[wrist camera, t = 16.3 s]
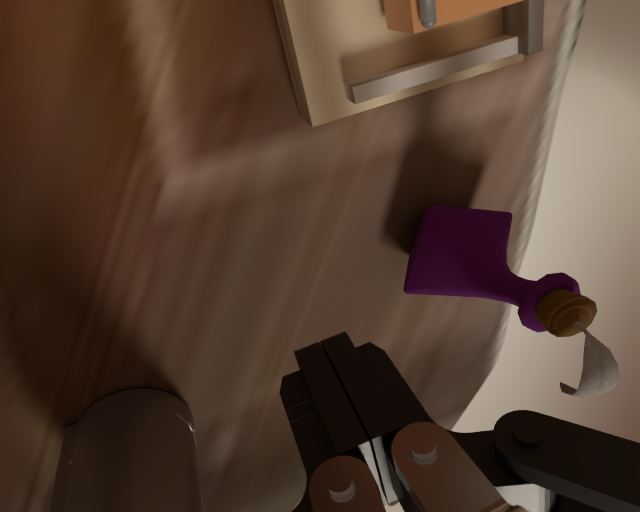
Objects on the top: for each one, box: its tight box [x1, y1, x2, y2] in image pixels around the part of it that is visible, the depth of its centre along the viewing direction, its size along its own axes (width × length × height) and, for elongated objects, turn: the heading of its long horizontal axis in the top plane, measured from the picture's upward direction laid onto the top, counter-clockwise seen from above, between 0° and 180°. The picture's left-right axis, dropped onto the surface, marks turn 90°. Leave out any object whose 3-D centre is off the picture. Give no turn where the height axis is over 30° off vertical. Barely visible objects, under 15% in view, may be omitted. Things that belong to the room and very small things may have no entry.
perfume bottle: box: [404, 205, 619, 398], centre depth 33 cm, size 8×8×18 cm
